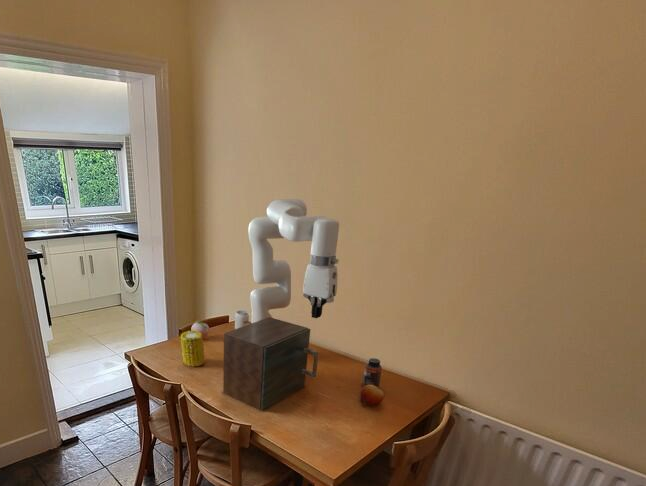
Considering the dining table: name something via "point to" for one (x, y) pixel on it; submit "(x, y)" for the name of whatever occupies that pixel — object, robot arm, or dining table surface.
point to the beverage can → (241, 319)
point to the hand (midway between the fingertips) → (316, 316)
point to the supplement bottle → (372, 372)
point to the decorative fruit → (201, 328)
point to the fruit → (371, 395)
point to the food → (192, 348)
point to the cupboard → (251, 357)
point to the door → (286, 367)
